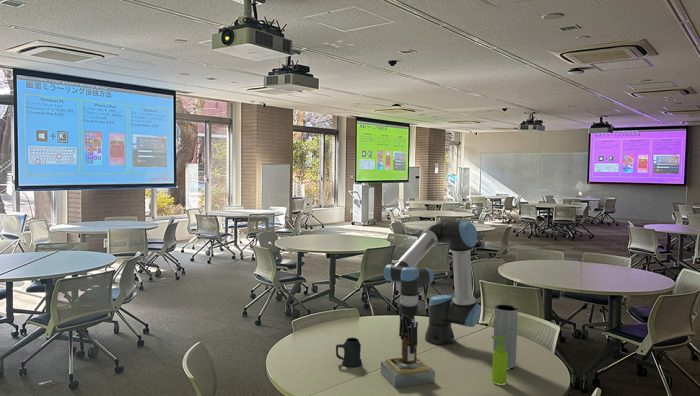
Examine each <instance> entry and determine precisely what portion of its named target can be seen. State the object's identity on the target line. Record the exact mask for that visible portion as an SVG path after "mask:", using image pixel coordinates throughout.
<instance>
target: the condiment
mask: <svg viewBox="0 0 700 396" xmlns="http://www.w3.org/2000/svg"><path fill="white" fill-rule="evenodd" d="M408 345H409V339H408V333H405V334H404V339H403V348H402V355H401V357H402V359H399V360H395V361H396V362H398V363H400V364H402V365H404V366H408V365H412V364H417V363H420V362H419V361H416V357H418V356H417V351H418V350H417V347H418V344H417V345H416V346H415V348H414V360H413V361H408Z"/></svg>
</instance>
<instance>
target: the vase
mask: <svg viewBox="0 0 700 396" xmlns="http://www.w3.org/2000/svg"><path fill="white" fill-rule="evenodd" d="M518 314H519V312H518V308H517V306H514V305H509V304H497V305H495V306H494V323H493V324H494V325H493V326H494V327H493V336H496V335H499V336H504V337H505V339H503V344H505V349H504V351H506V352H507V368H512V367H515V368H516V366H515V365H516V363H517V361H516V360H517V340H518V339H517V337H518ZM498 341H499V338H495V339H493V350H492V352H493V351H494V350H496V343H498Z"/></svg>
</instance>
